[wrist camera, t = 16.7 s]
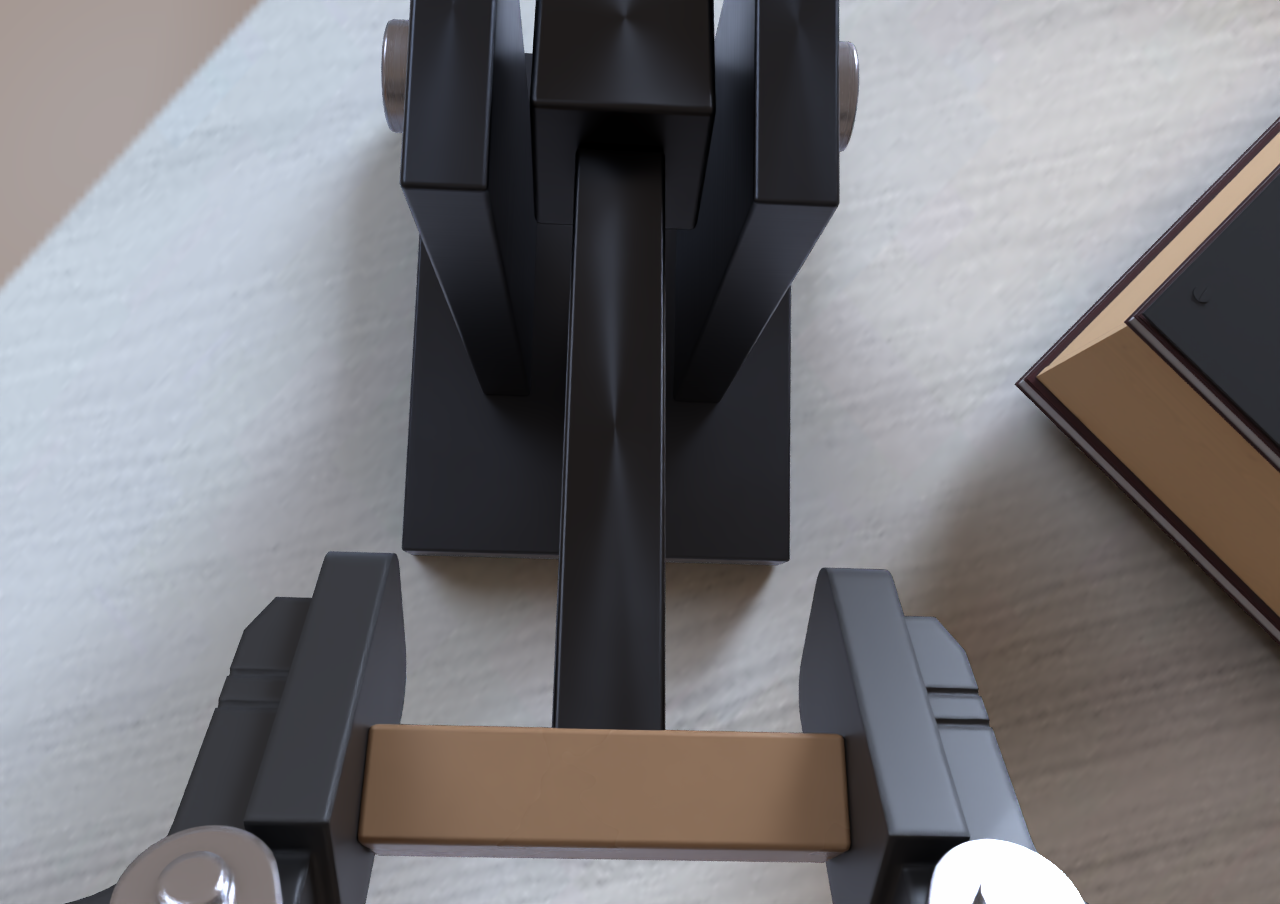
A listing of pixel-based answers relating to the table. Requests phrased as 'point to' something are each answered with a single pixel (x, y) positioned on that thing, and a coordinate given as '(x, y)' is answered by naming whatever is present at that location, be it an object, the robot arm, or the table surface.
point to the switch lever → (611, 513)
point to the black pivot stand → (541, 268)
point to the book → (1191, 382)
